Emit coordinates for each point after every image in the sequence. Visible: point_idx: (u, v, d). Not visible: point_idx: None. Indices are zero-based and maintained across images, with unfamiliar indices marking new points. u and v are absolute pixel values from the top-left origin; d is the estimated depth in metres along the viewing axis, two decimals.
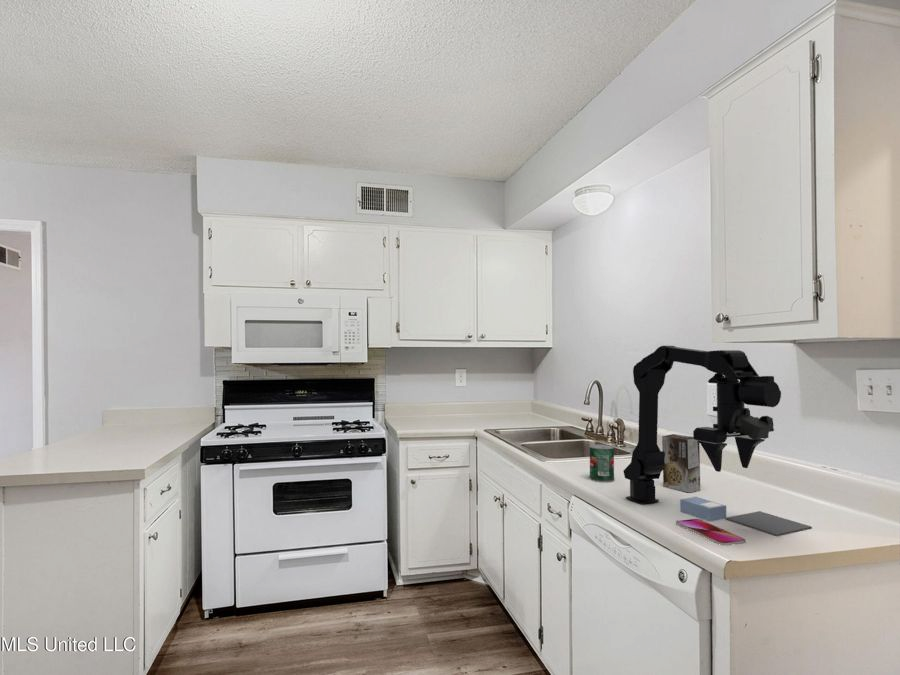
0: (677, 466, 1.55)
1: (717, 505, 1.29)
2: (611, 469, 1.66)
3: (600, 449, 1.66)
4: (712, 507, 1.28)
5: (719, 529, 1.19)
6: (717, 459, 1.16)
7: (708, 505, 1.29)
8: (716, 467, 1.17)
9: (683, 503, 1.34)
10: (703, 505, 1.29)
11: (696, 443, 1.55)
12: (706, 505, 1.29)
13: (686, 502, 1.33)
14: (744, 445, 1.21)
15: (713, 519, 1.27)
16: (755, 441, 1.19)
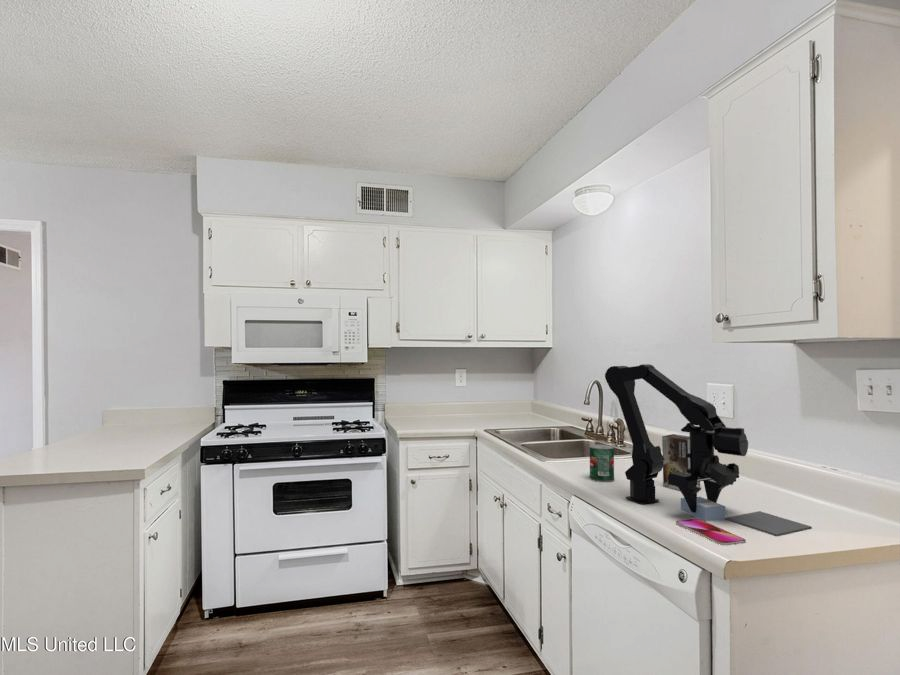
0: (677, 466, 1.55)
1: (715, 505, 1.29)
2: (611, 469, 1.66)
3: (600, 449, 1.66)
4: (709, 507, 1.28)
5: (719, 529, 1.19)
6: (692, 501, 1.30)
7: (706, 505, 1.29)
8: (692, 508, 1.30)
9: (683, 501, 1.35)
10: (700, 504, 1.29)
11: None
12: (703, 505, 1.29)
13: None
14: (711, 488, 1.34)
15: (709, 519, 1.27)
16: (720, 485, 1.32)
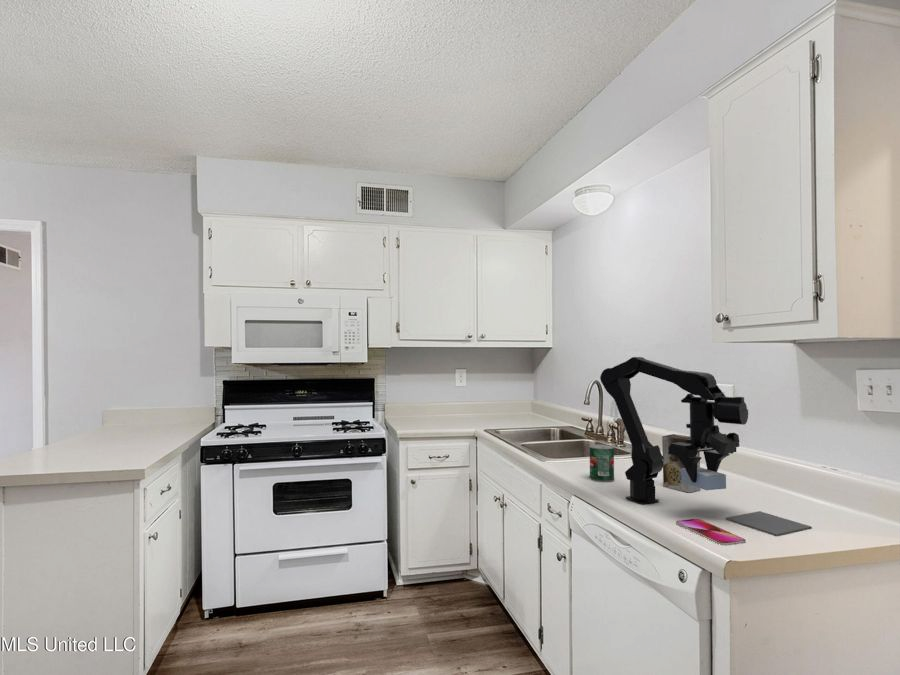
0: (677, 466, 1.55)
1: (716, 474, 1.29)
2: (611, 469, 1.66)
3: (600, 449, 1.66)
4: (710, 475, 1.28)
5: (719, 529, 1.19)
6: (693, 471, 1.30)
7: (706, 473, 1.29)
8: (692, 478, 1.30)
9: (684, 472, 1.34)
10: (701, 473, 1.29)
11: None
12: (704, 473, 1.29)
13: (686, 471, 1.34)
14: (711, 459, 1.34)
15: (711, 487, 1.27)
16: (721, 455, 1.32)
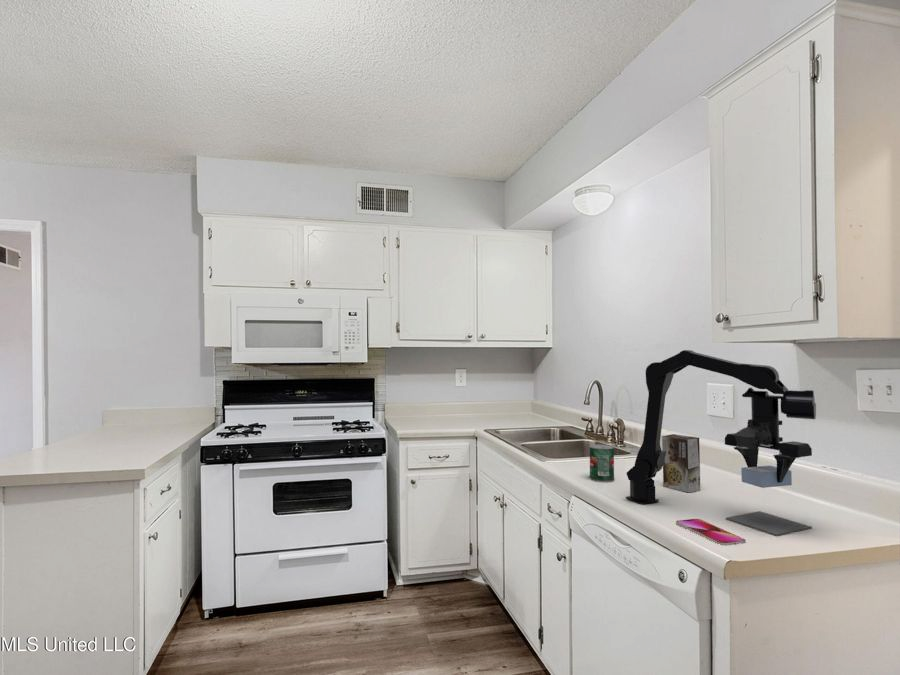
0: (677, 466, 1.55)
1: (757, 470, 1.23)
2: (611, 469, 1.66)
3: (600, 449, 1.66)
4: (747, 468, 1.26)
5: (719, 529, 1.19)
6: None
7: (752, 468, 1.26)
8: None
9: None
10: (751, 467, 1.27)
11: (696, 443, 1.55)
12: (752, 468, 1.26)
13: None
14: None
15: (746, 480, 1.26)
16: None
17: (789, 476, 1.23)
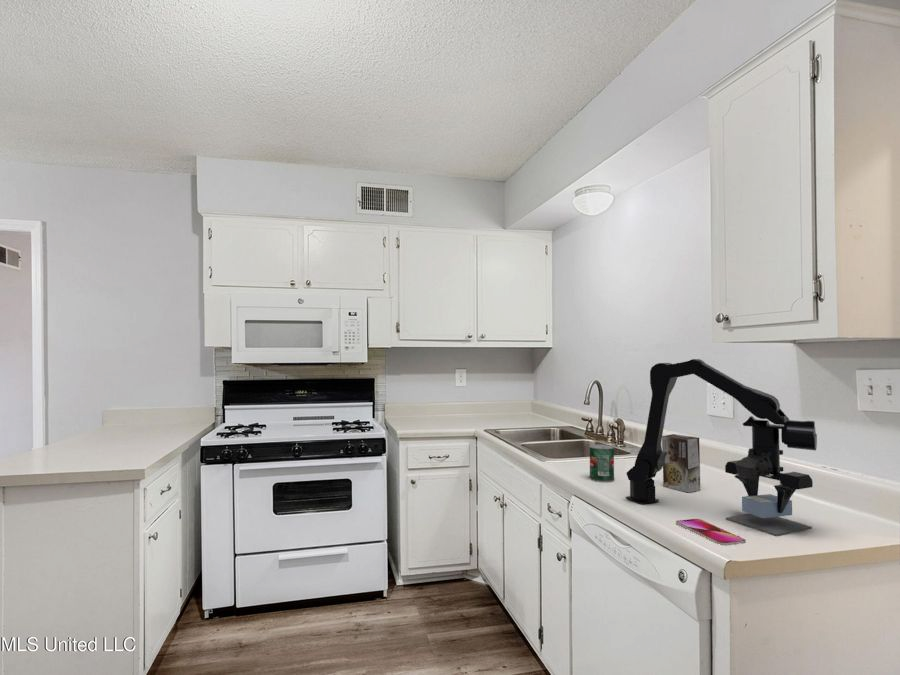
0: (677, 466, 1.55)
1: (757, 500, 1.23)
2: (611, 469, 1.66)
3: (600, 449, 1.66)
4: (747, 498, 1.25)
5: (719, 529, 1.19)
6: None
7: (753, 497, 1.26)
8: None
9: None
10: (752, 496, 1.27)
11: (696, 443, 1.55)
12: (752, 497, 1.26)
13: None
14: None
15: (746, 510, 1.25)
16: None
17: (790, 506, 1.23)
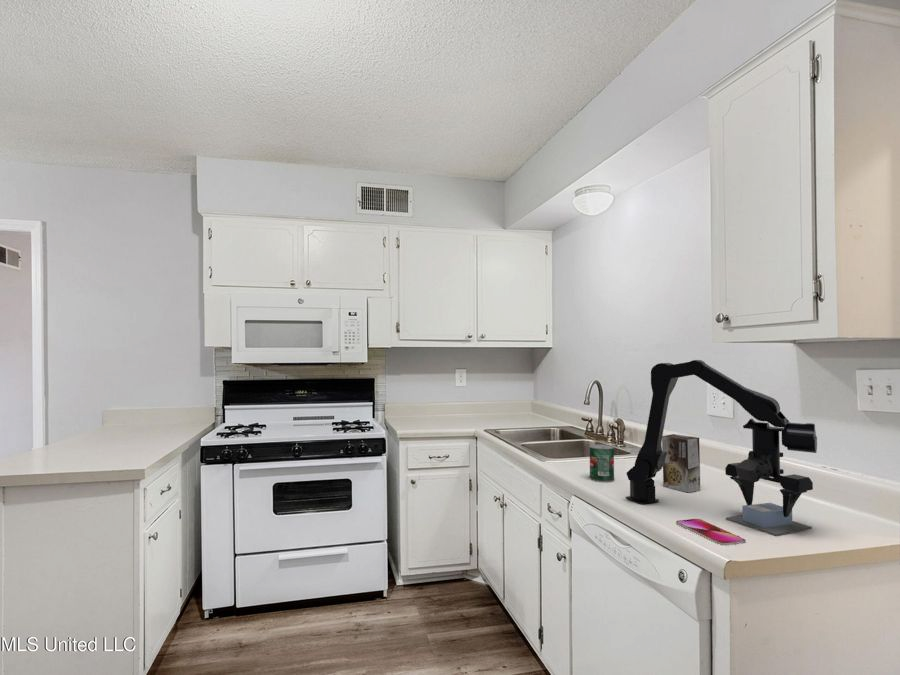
0: (677, 466, 1.55)
1: (758, 509, 1.23)
2: (611, 469, 1.66)
3: (600, 449, 1.66)
4: (748, 507, 1.25)
5: (719, 529, 1.19)
6: None
7: (753, 506, 1.25)
8: None
9: None
10: (752, 505, 1.27)
11: (696, 443, 1.55)
12: (753, 506, 1.26)
13: None
14: None
15: (747, 519, 1.25)
16: None
17: (790, 515, 1.23)
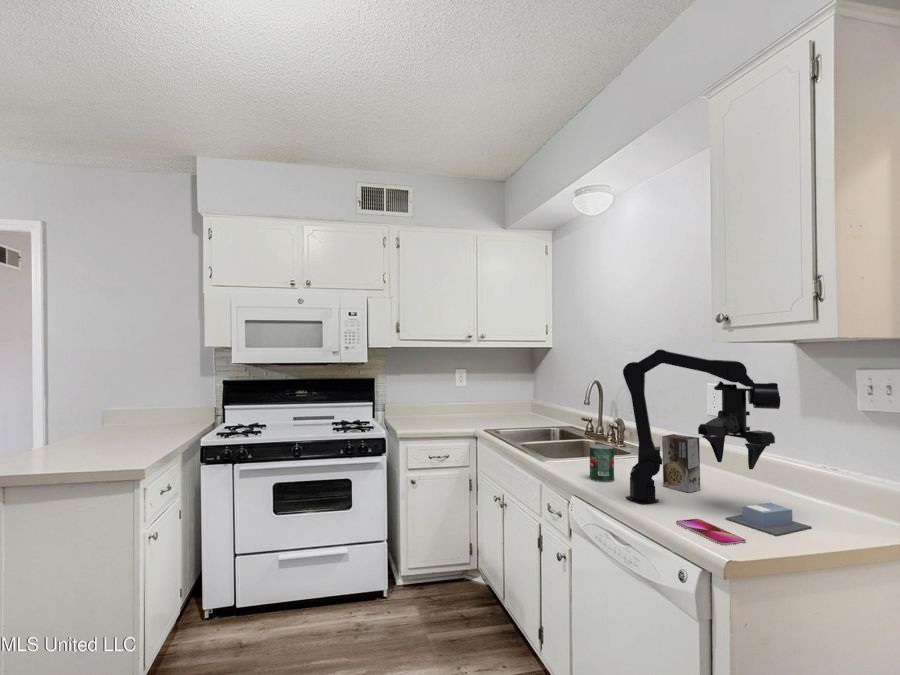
0: (677, 466, 1.55)
1: (758, 509, 1.23)
2: (611, 469, 1.66)
3: (600, 449, 1.66)
4: (748, 507, 1.25)
5: (719, 529, 1.19)
6: None
7: (753, 506, 1.25)
8: None
9: None
10: (752, 505, 1.27)
11: (696, 443, 1.55)
12: (753, 506, 1.26)
13: None
14: None
15: (747, 519, 1.25)
16: None
17: (790, 515, 1.23)
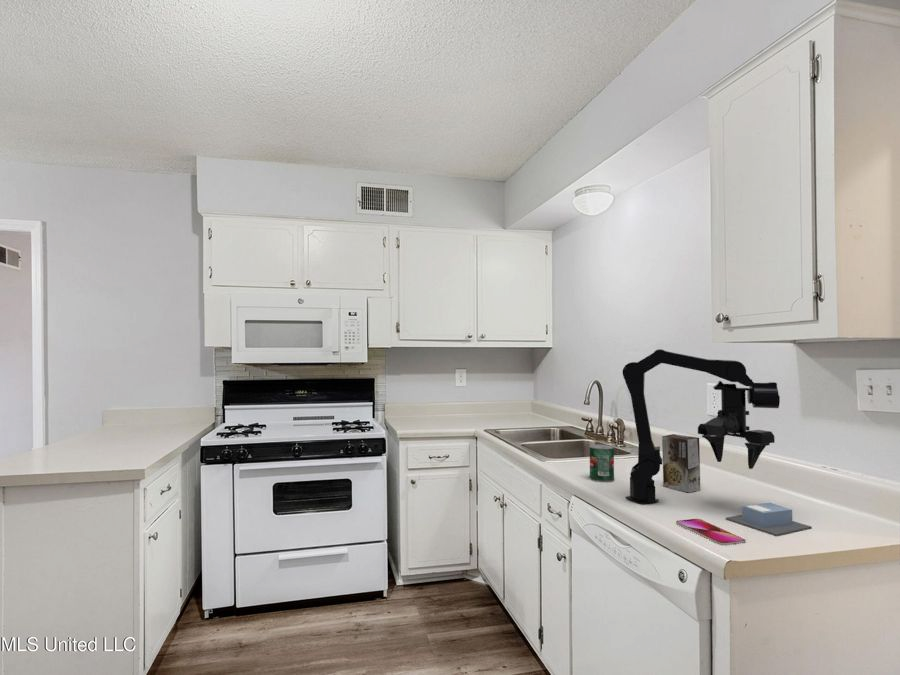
0: (677, 466, 1.55)
1: (758, 509, 1.23)
2: (611, 469, 1.66)
3: (600, 449, 1.66)
4: (748, 507, 1.25)
5: (719, 529, 1.19)
6: None
7: (753, 506, 1.25)
8: None
9: None
10: (752, 505, 1.27)
11: (696, 443, 1.55)
12: (753, 506, 1.26)
13: None
14: None
15: (747, 519, 1.25)
16: None
17: (790, 515, 1.23)
